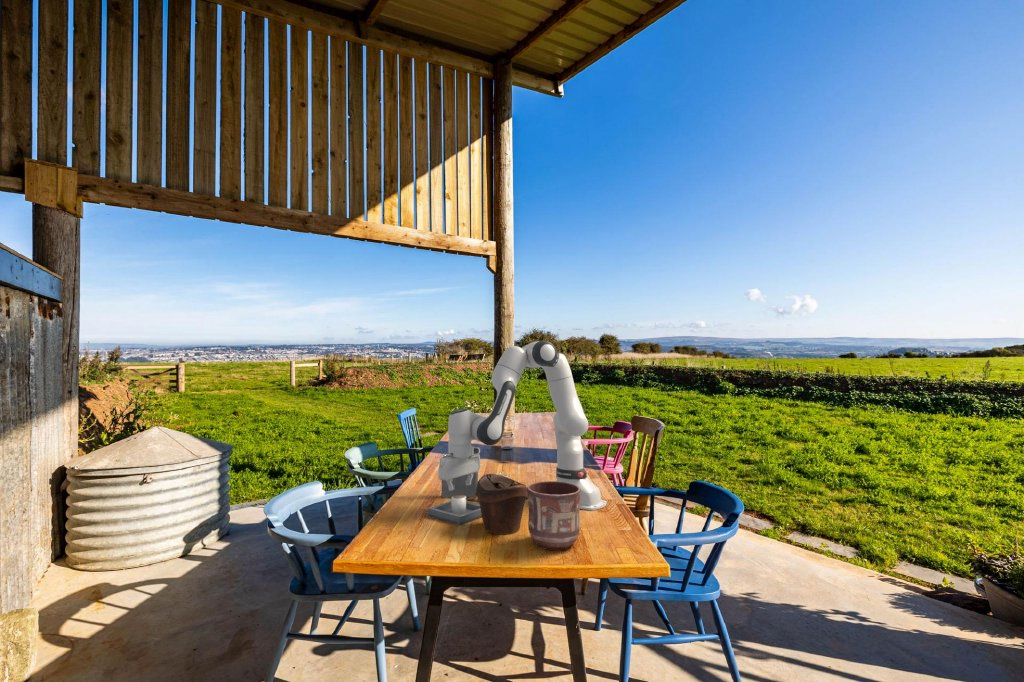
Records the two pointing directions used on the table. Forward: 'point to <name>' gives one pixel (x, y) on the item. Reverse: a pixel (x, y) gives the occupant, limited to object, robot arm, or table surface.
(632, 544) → the table surface
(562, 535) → the pottery
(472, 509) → the tray
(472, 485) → the hip flask
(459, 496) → the cup
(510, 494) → the brown lidded tumbler
